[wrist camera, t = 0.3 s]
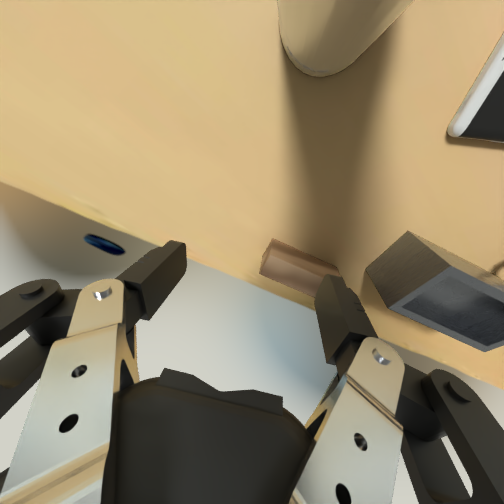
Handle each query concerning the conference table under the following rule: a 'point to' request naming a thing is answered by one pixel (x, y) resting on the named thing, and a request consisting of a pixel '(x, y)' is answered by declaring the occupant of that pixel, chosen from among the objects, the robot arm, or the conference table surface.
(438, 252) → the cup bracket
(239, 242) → the conference table surface
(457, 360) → the conference table surface
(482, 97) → the smartphone
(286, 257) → the brown rectangular block
